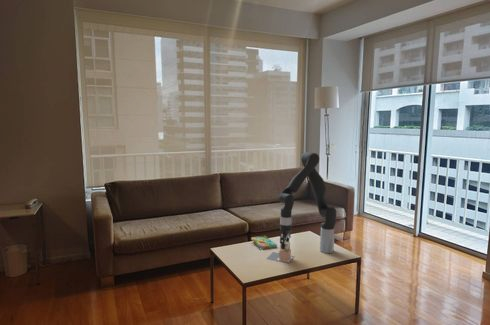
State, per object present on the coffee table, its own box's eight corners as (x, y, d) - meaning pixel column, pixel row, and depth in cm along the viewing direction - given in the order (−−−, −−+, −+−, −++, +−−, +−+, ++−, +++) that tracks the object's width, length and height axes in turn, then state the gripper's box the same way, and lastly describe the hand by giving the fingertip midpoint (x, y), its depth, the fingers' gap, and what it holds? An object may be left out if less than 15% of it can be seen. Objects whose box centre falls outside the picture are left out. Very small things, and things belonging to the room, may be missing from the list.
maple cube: (289, 249, 217) (290, 242, 216) (287, 251, 212) (287, 244, 212) (282, 247, 219) (282, 240, 219) (280, 250, 215) (280, 243, 214)
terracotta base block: (290, 257, 218) (290, 249, 217) (287, 261, 213) (287, 252, 212) (282, 256, 221) (282, 247, 220) (279, 259, 215) (279, 250, 214)
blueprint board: (295, 258, 220) (295, 256, 220) (288, 265, 209) (288, 263, 209) (273, 254, 227) (273, 251, 227) (265, 261, 216) (265, 258, 216)
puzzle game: (262, 245, 231) (251, 236, 250) (262, 251, 232) (251, 242, 250) (276, 243, 236) (264, 234, 254) (276, 249, 236) (264, 240, 255)
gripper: (287, 227, 206) (287, 251, 208) (294, 221, 218) (293, 244, 220) (276, 225, 209) (276, 249, 211) (284, 219, 222) (283, 242, 224)
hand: (285, 246), depth 216 cm, fingers open, 8 cm apart
